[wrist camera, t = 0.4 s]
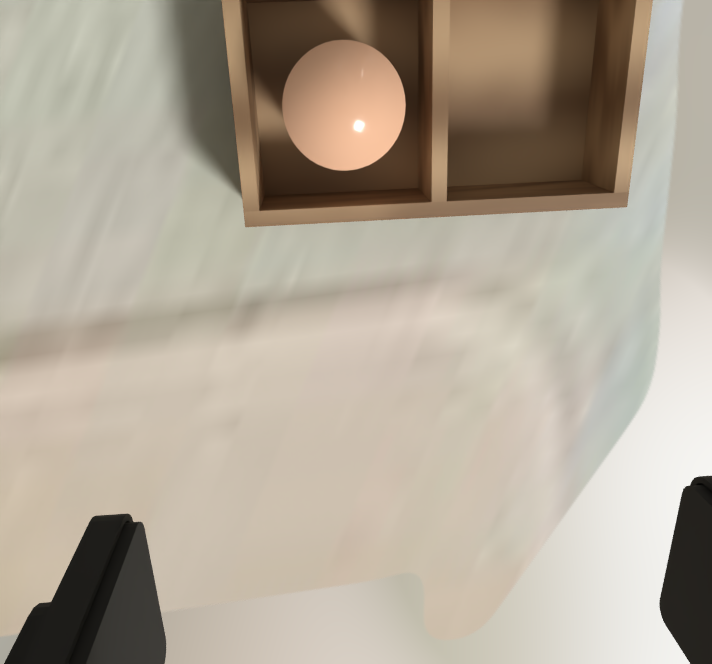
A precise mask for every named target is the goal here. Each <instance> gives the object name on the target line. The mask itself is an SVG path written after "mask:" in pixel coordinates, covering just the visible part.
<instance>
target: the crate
mask: <svg viewBox="0 0 712 664" xmlns="http://www.w3.org/2000/svg"><path fill="white" fill-rule="evenodd" d="M652 2H653V0H222V9H223V19H224V29H225V38H226V48H227V57H228V67H229V76H230V86H231V95H232V105H233V114H234V124H235V133H236V143H237V152H238V162H239V171H240V181H241V190H242V200H243V209H244V219H245V227H257V226H276V225H295V224H314V223H333V222H352V221H372V220H391V219H410V218H429V217H448V216H467V215H486V214H505V213H524V212H543V211H562V210H582V209H601V208H620V207H627V203H628V195H629V187H630V179H631V171H632V163H633V155H634V147H635V139H636V131H637V123H638V115H639V106H640V98H641V90H642V82H643V74H644V66H645V58H646V50H647V42H648V34H649V26H650V18H651V10H652ZM334 40H353V41H358V42H361V43H364V44H367V45H369V46H371V47H373V48H374V49H376V50H377V51H379V52H380V53H381V54H383V55H384V56H385V57H386V58H387V59H388V60H389V61H390V63H391V64H392V65H393V67H394V68H395V70H396V71H397V73H398V75H399V77H400V79H401V82H402V85H403V89H404V94H405V103H406V107H405V117H404V122H403V125H402V129H401V131H400V133H399V136H398V138H397V139H396V141H395V143H394V144H393V146H392V147H391V148H390V149H389V151H388V152H387V153H385V154H384V155H383V156H382V157H381V158H380V159H378V160H377V161H375V162H374V163H372V164H370V165H368V166H365V167H363V168H359V169H355V170H347V171H344V170H333V169H329V168H326V167H323V166H321V165H318V164H316V163H315V162H313V161H311V160H310V159H308V158H307V157H306V156H305V155H304V154H303V153H302V152H301V151H300V150H299V149H298V148H297V147H296V145H295V144H294V143H293V141H292V139H291V138H290V136H289V134H288V131H287V129H286V126H285V122H284V118H283V111H282V99H283V92H284V88H285V84H286V81H287V79H288V76H289V74H290V72H291V71H292V69H293V67H294V66H295V65H296V63H297V62H298V61H299V60H300V59H301V58H302V57H303V56H304V55H305V54H306V53H307V52H308V51H310V50H311V49H313V48H315V47H316V46H318V45H321V44H323V43H326V42H330V41H334Z"/></svg>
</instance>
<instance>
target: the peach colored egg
mask: <svg viewBox="0 0 712 664" xmlns="http://www.w3.org/2000/svg"><path fill="white" fill-rule="evenodd" d="M405 107H406V103H405V94H404V89H403V85H402V82H401V79H400V77H399V75H398V73H397V71H396V70H395V68H394V67H393V65H392V64H391V63H390V61H389V60H388V59H387V58H386V57H385V56H384V55H383V54H381V53H380V52H379V51H377V50H376V49H374V48H373V47H371V46H369V45H367V44H364V43H361V42H358V41H353V40H334V41H330V42H326V43H323V44H321V45H318V46H316V47H315V48H313V49H311V50H310V51H308V52H307V53H306V54H305V55H304V56H303V57H302V58H301V59H300V60H299V61H298V62H297V63H296V65H295V66H294V67H293V69H292V71H291V72H290V74H289V76H288V79H287V81H286V84H285V88H284V92H283V99H282V111H283V118H284V122H285V126H286V129H287V131H288V134H289V136H290V138H291V139H292V141H293V143H294V144H295V145H296V147H297V148H298V149H299V150H300V151H301V152H302V153H303V154H304V155H305V156H306V157H307V158H308V159H310V160H311V161H313V162H315V163H316V164H318V165H321V166H323V167H326V168H329V169H333V170H344V171H347V170H355V169H359V168H363V167H365V166H368V165H370V164H372V163H374V162H375V161H377V160H378V159H380V158H381V157H382V156H383V155H384V154H385V153H387V152H388V151H389V149H390V148H391V147H392V146H393V144H394V143H395V141H396V139H397V138H398V136H399V133H400V131H401V129H402V125H403V122H404V117H405Z"/></svg>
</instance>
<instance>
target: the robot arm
mask: <svg viewBox="0 0 712 664" xmlns="http://www.w3.org/2000/svg"><path fill="white" fill-rule="evenodd" d="M660 611H661V615H662V618H663V621H664V623H665V624H666V626H667V628H668V629H669V631H670V632H671V634H672V635H673V637H674V639H675V640H676V642H677V643H678V645H679V646H680V648H681V650H682V651H683V653H684V654H685V656H686V657H687V659H688V660H689V662H690V664H712V476H702V477H696V478H694V480H693V481H692V482H691V485H690V486H686V487H685V488H684V489H683V492H682V497H681V501H680V506H679V511H678V515H677V521H676V525H675V530H674V535H673V539H672V544H671V549H670V554H669V559H668V564H667V569H666V573H665V578H664V583H663V588H662V592H661V597H660ZM165 657H166V638H165V632H164V627H163V622H162V617H161V612H160V606H159V601H158V596H157V591H156V586H155V580H154V575H153V570H152V565H151V560H150V555H149V549H148V544H147V539H146V534H145V529H144V525H143V523H142V522H133V520H132V517H131V515H130V514H117V515H101V516H94V517H93V518H92V519H91V521H90V522H89V524H88V526H87V529H86V531H85V533H84V535H83V537H82V539H81V541H80V543H79V545H78V547H77V549H76V551H75V554H74V556H73V558H72V560H71V562H70V564H69V566H68V568H67V570H66V572H65V574H64V577H63V579H62V581H61V583H60V585H59V587H58V589H57V591H56V593H55V595H54V597H53V600H52V602H49V603H39V604H38V605H37V606H35V607H34V608H33V610H32V611H31V613H30V614H29V616H28V618H27V620H26V622H25V624H24V626H23V628H22V630H21V632H20V634H19V635H18V638H17V639H16V642H15V643H14V645H13V647H12V649H11V651H10V653H9V655H8V657H7V659H6V661H5V663H4V664H164V663H165Z"/></svg>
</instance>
